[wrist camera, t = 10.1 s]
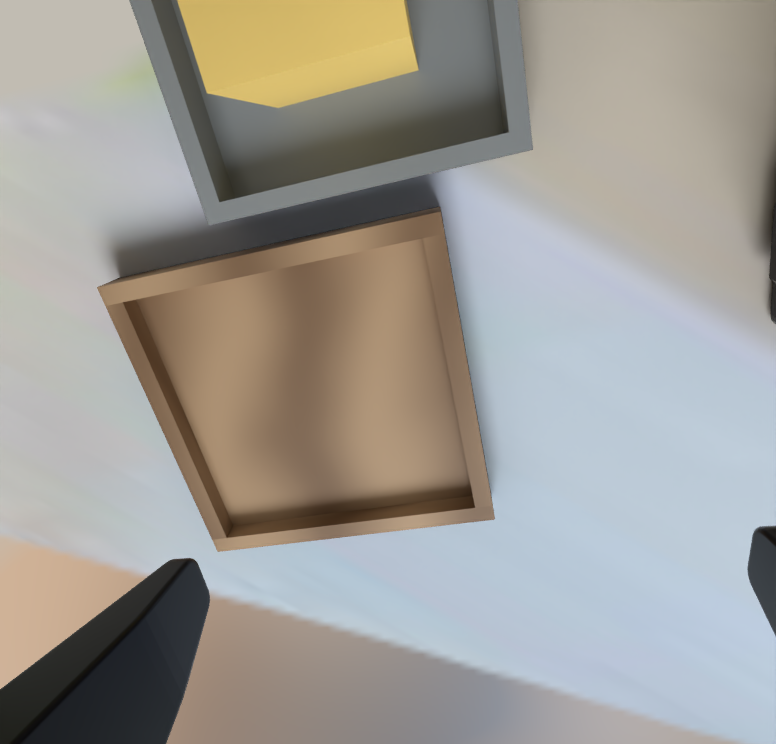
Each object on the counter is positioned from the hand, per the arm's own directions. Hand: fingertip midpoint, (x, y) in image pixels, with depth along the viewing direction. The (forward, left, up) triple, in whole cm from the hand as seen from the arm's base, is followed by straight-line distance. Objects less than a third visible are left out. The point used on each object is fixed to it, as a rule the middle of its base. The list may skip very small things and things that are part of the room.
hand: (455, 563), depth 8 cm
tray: (+6, +2, -12) cm, 13 cm away
